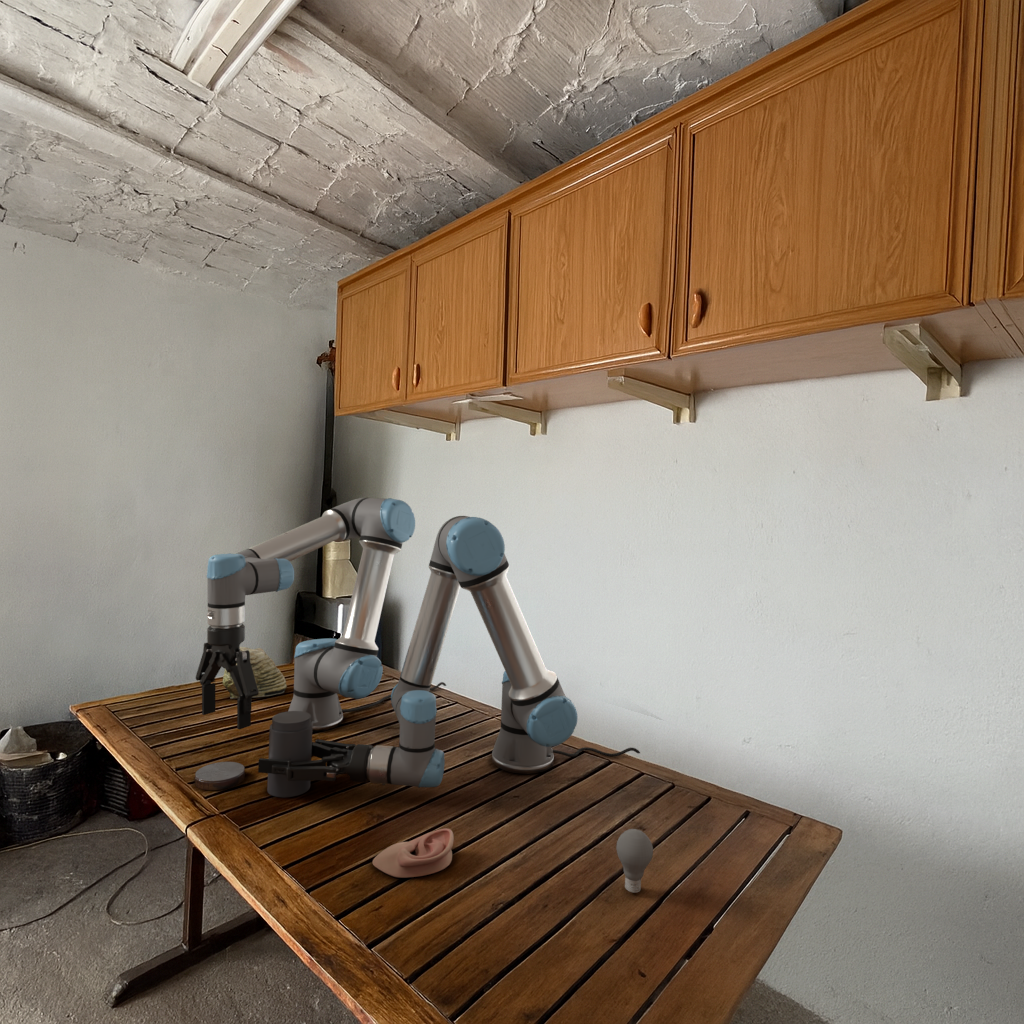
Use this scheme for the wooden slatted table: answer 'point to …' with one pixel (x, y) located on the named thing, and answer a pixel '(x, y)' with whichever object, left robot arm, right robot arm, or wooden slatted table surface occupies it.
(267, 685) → the fossil
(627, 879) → the light bulb
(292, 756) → the jar
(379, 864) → the anatomical model
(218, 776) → the lid
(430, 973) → the wooden slatted table surface
